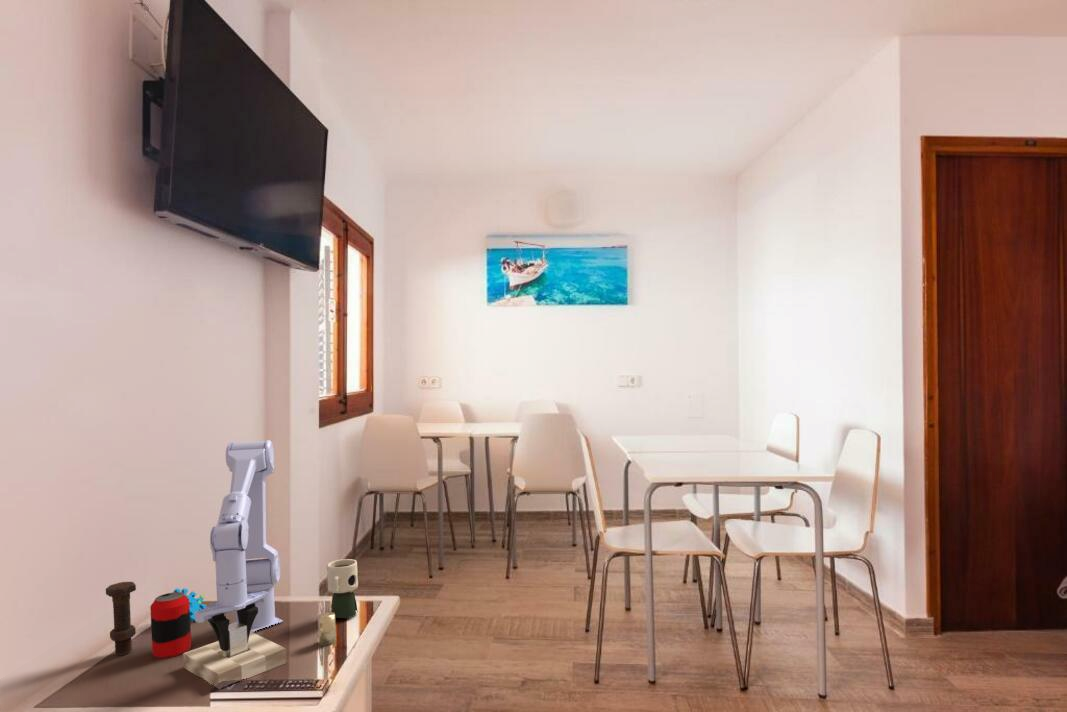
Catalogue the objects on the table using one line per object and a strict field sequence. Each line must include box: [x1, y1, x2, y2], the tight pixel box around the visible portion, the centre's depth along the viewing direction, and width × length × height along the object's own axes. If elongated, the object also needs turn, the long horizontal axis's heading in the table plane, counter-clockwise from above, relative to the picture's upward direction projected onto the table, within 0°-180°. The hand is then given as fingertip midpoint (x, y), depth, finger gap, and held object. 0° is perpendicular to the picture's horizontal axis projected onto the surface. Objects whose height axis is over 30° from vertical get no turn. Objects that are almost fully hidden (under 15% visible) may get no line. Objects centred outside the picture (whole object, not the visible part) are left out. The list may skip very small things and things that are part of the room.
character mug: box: [326, 558, 359, 620], centre depth 166 cm, size 11×7×13 cm, turn 177°
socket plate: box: [182, 631, 287, 686], centre depth 141 cm, size 16×14×3 cm
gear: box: [171, 588, 207, 622], centre depth 169 cm, size 11×6×10 cm
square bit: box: [222, 621, 248, 658], centre depth 141 cm, size 4×4×6 cm
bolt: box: [105, 581, 137, 656], centre depth 150 cm, size 6×5×15 cm
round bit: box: [317, 611, 337, 647], centre depth 151 cm, size 4×4×6 cm
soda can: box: [149, 591, 192, 659], centre depth 150 cm, size 8×8×12 cm
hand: (234, 646), depth 141 cm, fingers closed on square bit, 4 cm apart
